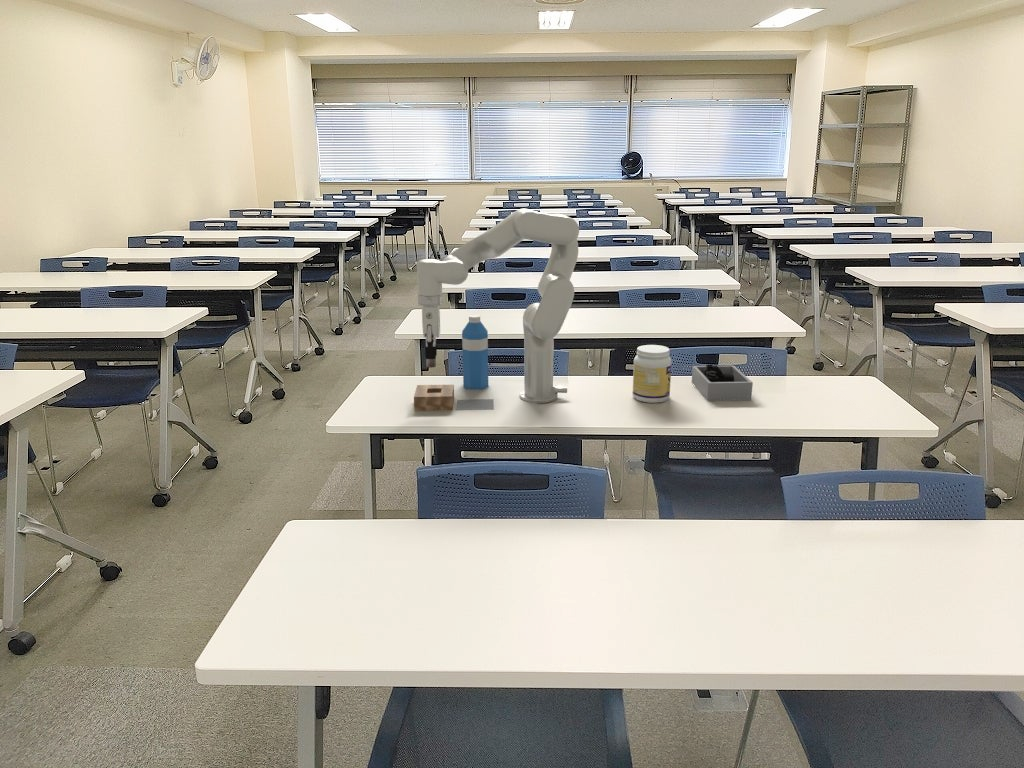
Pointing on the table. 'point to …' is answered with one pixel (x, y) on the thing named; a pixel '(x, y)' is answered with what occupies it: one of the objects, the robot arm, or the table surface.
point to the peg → (431, 360)
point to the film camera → (717, 374)
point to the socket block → (434, 397)
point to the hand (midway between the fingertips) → (431, 356)
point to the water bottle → (475, 354)
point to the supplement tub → (652, 374)
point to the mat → (475, 404)
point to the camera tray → (723, 385)
